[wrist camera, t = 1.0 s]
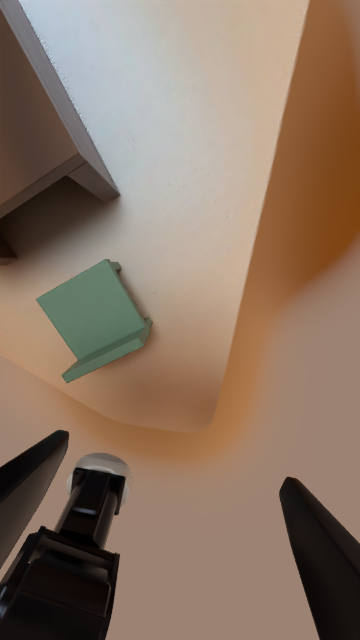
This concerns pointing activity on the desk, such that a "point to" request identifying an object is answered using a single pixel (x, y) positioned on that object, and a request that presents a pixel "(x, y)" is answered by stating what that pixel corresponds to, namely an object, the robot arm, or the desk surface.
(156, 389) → the desk surface
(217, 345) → the desk surface
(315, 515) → the robot arm
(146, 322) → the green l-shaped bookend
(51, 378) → the desk surface
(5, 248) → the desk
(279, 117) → the desk surface
